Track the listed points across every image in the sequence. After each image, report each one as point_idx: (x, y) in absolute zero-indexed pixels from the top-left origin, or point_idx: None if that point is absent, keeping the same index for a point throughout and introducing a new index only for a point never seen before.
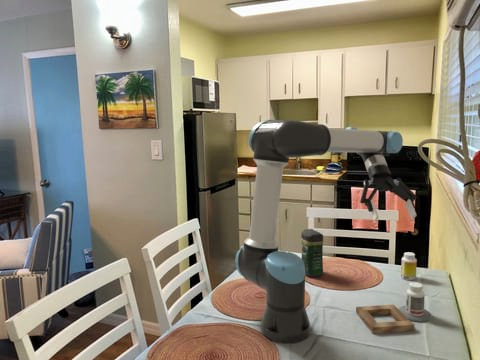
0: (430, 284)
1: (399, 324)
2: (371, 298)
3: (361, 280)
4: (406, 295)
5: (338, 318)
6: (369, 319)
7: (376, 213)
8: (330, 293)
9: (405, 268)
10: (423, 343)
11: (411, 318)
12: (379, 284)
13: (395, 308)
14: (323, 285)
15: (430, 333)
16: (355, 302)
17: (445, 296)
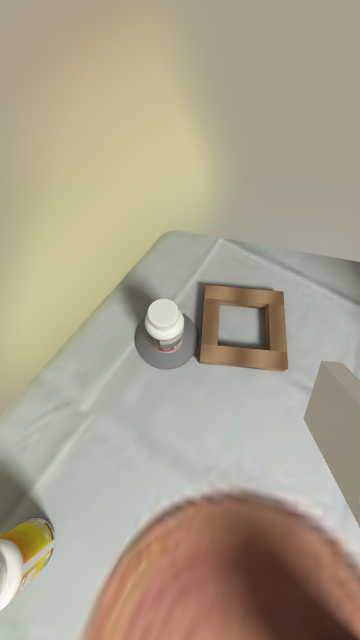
0: (12, 474)
1: (230, 290)
2: (219, 428)
3: (192, 566)
4: (181, 332)
5: (327, 357)
6: (278, 315)
7: (351, 385)
8: (318, 487)
9: (36, 546)
10: (210, 260)
11: (186, 320)
12: (152, 515)
13: (205, 343)
14: (329, 556)
15: (182, 279)
16: (267, 417)
17: (40, 395)
